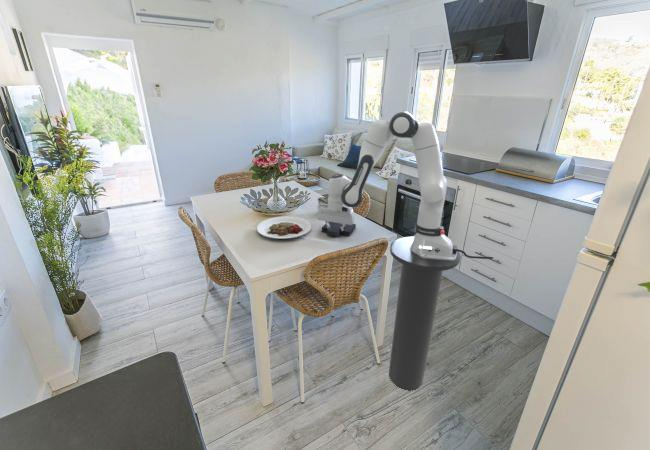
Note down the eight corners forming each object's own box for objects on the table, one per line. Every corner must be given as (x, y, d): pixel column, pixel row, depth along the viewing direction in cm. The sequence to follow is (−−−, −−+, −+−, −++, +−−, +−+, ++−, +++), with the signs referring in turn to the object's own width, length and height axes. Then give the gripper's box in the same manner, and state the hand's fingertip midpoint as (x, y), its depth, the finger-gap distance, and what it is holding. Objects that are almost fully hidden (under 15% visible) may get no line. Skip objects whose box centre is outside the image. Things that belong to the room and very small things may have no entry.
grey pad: (343, 230, 174) (343, 225, 173) (337, 236, 165) (337, 232, 164) (333, 228, 176) (333, 224, 175) (326, 235, 167) (326, 230, 166)
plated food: (259, 219, 188) (259, 214, 186) (310, 218, 190) (310, 213, 189) (254, 242, 160) (253, 236, 159) (312, 240, 163) (312, 234, 161)
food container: (336, 216, 196) (337, 201, 192) (328, 218, 193) (329, 202, 189) (325, 210, 206) (325, 195, 202) (317, 212, 203) (317, 197, 199)
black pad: (355, 228, 179) (355, 224, 178) (349, 236, 169) (349, 231, 168) (329, 224, 184) (329, 220, 183) (321, 231, 174) (321, 227, 173)
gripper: (315, 204, 166) (315, 228, 171) (352, 209, 159) (351, 234, 164) (319, 201, 171) (319, 224, 176) (356, 206, 164) (354, 230, 169)
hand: (335, 229), depth 170 cm, fingers closed on grey pad, 6 cm apart
